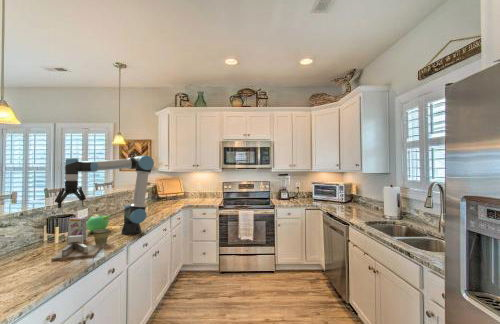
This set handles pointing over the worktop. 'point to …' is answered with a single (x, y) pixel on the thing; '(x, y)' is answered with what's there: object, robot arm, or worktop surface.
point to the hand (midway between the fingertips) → (70, 211)
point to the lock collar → (75, 239)
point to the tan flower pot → (101, 236)
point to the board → (76, 252)
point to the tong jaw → (82, 248)
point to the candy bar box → (77, 227)
